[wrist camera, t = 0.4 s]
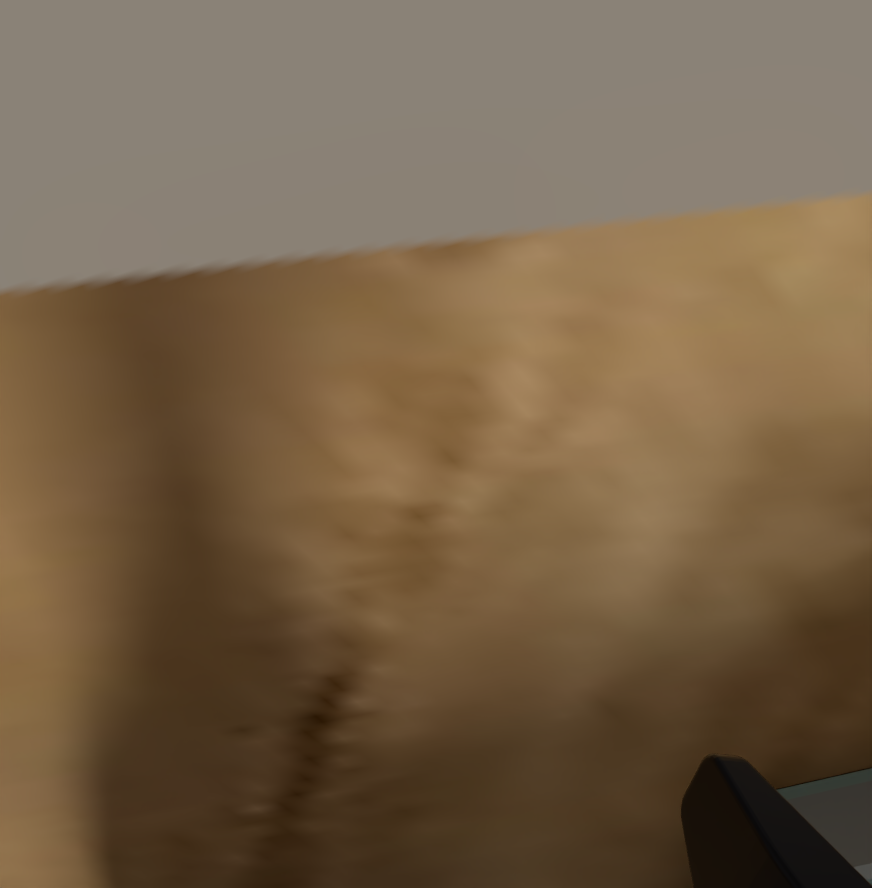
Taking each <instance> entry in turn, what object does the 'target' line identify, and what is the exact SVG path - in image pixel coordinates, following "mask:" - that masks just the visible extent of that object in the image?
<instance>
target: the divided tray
mask: <svg viewBox="0 0 872 888" xmlns="http://www.w3.org/2000/svg"><path fill="white" fill-rule="evenodd" d="M777 791H778V792H779V793H780V794H781V795H782V796H783V797H784V798H785V799H786V800H787V801H788V802H789V803H790V804H791V805H792V806H793V807H794V808H795V809H796V810H797V811H798V812H799V813H800V814H801V815H802V816H803V817H804V818H805V819H806V820H807V821H808V822H809V823H810V824H811V825H812V826H813V827H814V828H815V829H816V830H817V831H818V832H819V833H820V834H821V835H822V836H823V837H824V838H825V839H826V840H827V841H828V842H829V843H830V844H831V845H832V846H833V847H834V848H835V849H836V850H837V851H838V852H839V853H840V854H841V855H842V856H843V857H844V858H845V859H846V860H847V861H848V862H849V863H850V864H851V865H852V866H853V867H854V868H855V869H856V870H857V871H858V872H859V873H860V874H861V875H862V876H863V877H864V878H865V879H866V880H867V881H868V882H869V883H870V884H871V885H872V768H871V769H866V770H862V771H858V772H853V773H849V774H844V775H840V776H836V777H831V778H827V779H822V780H818V781H814V782H809V783H805V784H800V785H796V786H792V787H787V788H783V789H778V790H777Z"/></svg>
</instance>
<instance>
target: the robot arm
mask: <svg viewBox="0 0 872 888" xmlns="http://www.w3.org/2000/svg"><path fill="white" fill-rule="evenodd" d="M681 818H682V825H683V831H684V836H685V842H686V848H687V853H688V859H689V865H690V870H691V876H692V882H693V887H694V888H872V885H871V884H870V883H869V882H868V881H867V880H866V879H865V878H864V877H863V876H862V875H861V874H860V873H859V872H858V871H857V870H856V869H855V868H854V867H853V866H852V865H851V864H850V863H849V862H848V861H847V860H846V859H845V858H844V857H843V856H842V855H841V854H840V853H839V852H838V851H837V850H836V849H835V848H834V847H833V846H832V845H831V844H830V843H829V842H828V841H827V840H826V839H825V838H824V837H823V836H822V835H821V834H820V833H819V832H818V831H817V830H816V829H815V828H814V827H813V826H812V825H811V824H810V823H809V822H808V821H807V820H806V819H805V818H804V817H803V816H802V815H801V814H800V813H799V812H798V811H797V810H796V809H795V808H794V807H793V806H792V805H791V804H790V803H789V802H788V801H787V800H786V799H785V798H784V797H783V796H782V795H781V794H780V793H779V792H778V791H777V790H776V789H775V788H774V787H773V786H772V785H771V784H770V783H769V782H768V781H767V780H766V779H765V778H764V777H763V776H762V775H761V774H760V773H759V772H758V771H757V770H756V769H755V768H754V767H753V766H752V765H751V764H750V763H749V762H748V761H746V760H745V759H743V758H742V757H739V756H734V755H723V754H709V755H708V756H706V757H705V758H704V759H703V760H702V762H701V764H700V766H699V768H698V770H697V772H696V773H695V775H694V777H693V779H692V781H691V783H690V785H689V787H688V789H687V791H686V793H685V795H684V797H683V800H682V805H681Z"/></svg>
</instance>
